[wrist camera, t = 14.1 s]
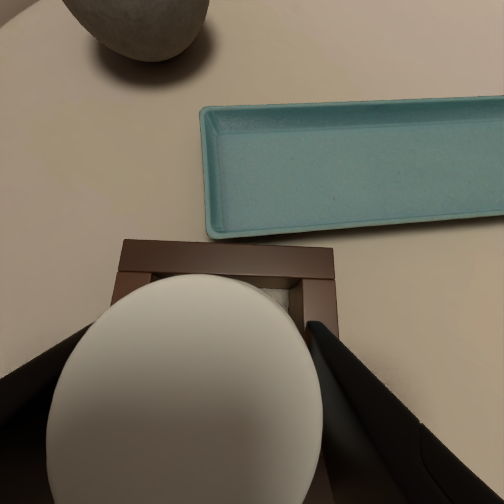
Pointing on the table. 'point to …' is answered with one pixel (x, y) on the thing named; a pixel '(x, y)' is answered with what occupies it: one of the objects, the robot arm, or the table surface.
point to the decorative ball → (142, 25)
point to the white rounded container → (187, 401)
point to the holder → (253, 272)
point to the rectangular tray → (350, 164)
